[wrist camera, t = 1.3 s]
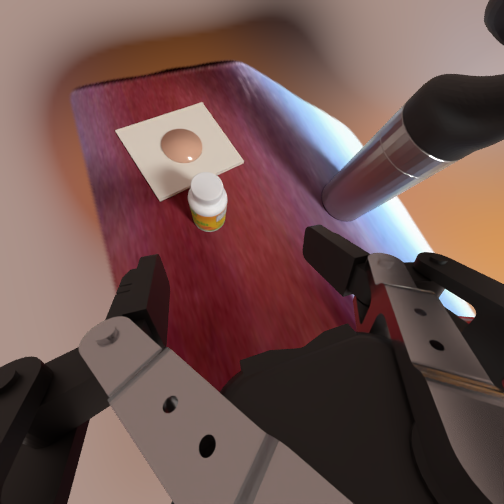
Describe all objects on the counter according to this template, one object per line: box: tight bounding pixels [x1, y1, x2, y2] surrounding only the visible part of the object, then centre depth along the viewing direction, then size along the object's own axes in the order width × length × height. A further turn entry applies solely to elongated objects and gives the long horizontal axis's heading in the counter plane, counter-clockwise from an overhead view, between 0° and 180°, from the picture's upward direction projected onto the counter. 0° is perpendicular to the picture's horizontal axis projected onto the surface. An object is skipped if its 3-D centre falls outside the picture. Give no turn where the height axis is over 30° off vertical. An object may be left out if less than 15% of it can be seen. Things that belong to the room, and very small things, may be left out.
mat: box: [115, 102, 244, 201], centre depth 35 cm, size 17×15×1 cm
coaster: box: [161, 129, 202, 163], centre depth 34 cm, size 7×7×1 cm
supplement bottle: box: [188, 172, 227, 232], centre depth 28 cm, size 5×5×10 cm
